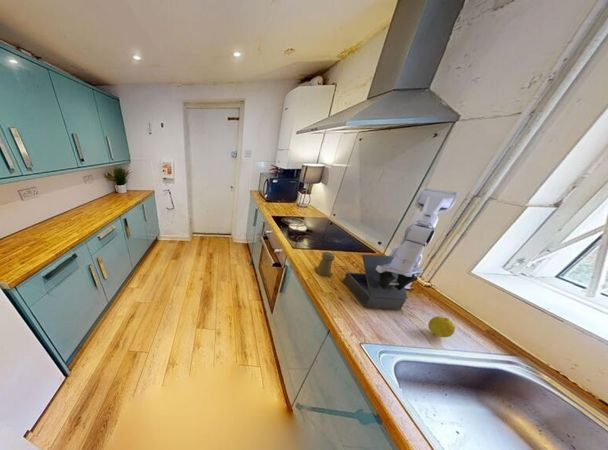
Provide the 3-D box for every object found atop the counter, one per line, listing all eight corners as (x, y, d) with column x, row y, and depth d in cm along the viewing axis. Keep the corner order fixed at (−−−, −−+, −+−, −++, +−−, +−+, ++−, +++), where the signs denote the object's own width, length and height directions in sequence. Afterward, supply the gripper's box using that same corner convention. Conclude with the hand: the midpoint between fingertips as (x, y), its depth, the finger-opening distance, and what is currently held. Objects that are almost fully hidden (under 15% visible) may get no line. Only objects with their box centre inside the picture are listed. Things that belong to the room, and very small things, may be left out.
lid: (362, 254, 81) (369, 253, 77) (396, 256, 80) (405, 255, 76) (369, 296, 76) (378, 297, 72) (405, 299, 75) (416, 299, 71)
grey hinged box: (343, 281, 92) (346, 272, 89) (372, 283, 91) (377, 274, 89) (365, 307, 78) (370, 297, 75) (400, 310, 77) (406, 299, 75)
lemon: (450, 345, 64) (464, 328, 61) (426, 337, 67) (438, 320, 63) (443, 332, 68) (455, 316, 65) (421, 325, 71) (432, 308, 68)
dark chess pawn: (331, 276, 94) (338, 257, 90) (318, 275, 95) (324, 255, 91) (327, 269, 100) (333, 250, 95) (314, 267, 101) (320, 249, 96)
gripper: (393, 263, 66) (377, 294, 71) (438, 266, 65) (419, 297, 71) (378, 251, 72) (364, 281, 78) (419, 254, 71) (402, 283, 77)
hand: (389, 287), depth 75 cm, fingers closed on lid, 5 cm apart
